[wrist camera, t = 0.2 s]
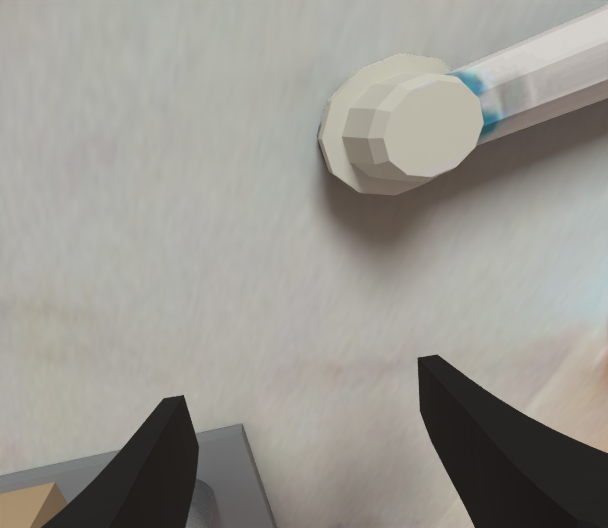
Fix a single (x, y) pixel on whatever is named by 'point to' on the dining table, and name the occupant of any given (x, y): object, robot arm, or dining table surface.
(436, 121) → the toothbrush head
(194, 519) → the metal round peg
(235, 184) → the dining table surface
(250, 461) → the fitting board
